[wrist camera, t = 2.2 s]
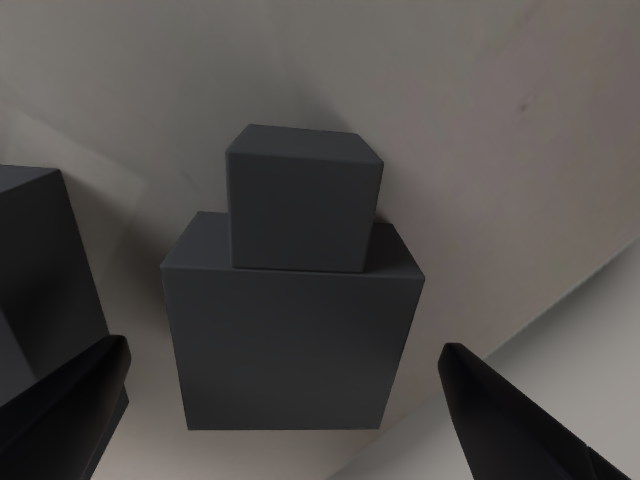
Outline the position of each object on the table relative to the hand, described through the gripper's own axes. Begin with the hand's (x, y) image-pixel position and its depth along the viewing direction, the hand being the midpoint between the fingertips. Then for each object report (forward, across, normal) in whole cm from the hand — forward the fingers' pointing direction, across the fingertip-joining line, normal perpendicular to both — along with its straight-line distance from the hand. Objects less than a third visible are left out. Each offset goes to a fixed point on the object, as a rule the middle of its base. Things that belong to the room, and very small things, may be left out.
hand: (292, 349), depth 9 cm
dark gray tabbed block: (+2, 0, -1) cm, 3 cm away
